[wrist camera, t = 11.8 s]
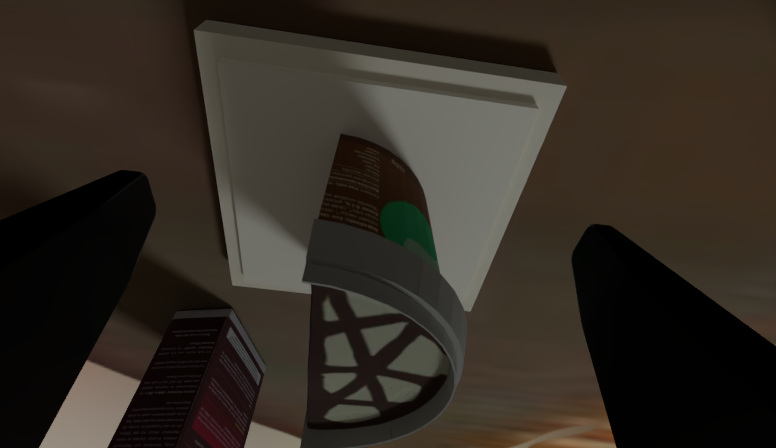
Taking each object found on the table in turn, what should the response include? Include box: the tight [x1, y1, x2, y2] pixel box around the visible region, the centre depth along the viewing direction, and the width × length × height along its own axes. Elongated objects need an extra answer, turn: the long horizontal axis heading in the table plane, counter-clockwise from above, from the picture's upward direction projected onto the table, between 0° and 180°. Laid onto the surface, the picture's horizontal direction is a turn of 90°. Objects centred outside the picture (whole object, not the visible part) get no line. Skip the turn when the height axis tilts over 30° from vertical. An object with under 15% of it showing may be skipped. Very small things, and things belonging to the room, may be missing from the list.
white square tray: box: [194, 20, 567, 312], centre depth 24 cm, size 16×16×2 cm
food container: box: [300, 134, 467, 448], centre depth 19 cm, size 12×6×10 cm, turn 172°
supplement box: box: [108, 309, 266, 448], centre depth 29 cm, size 9×5×16 cm, turn 7°
